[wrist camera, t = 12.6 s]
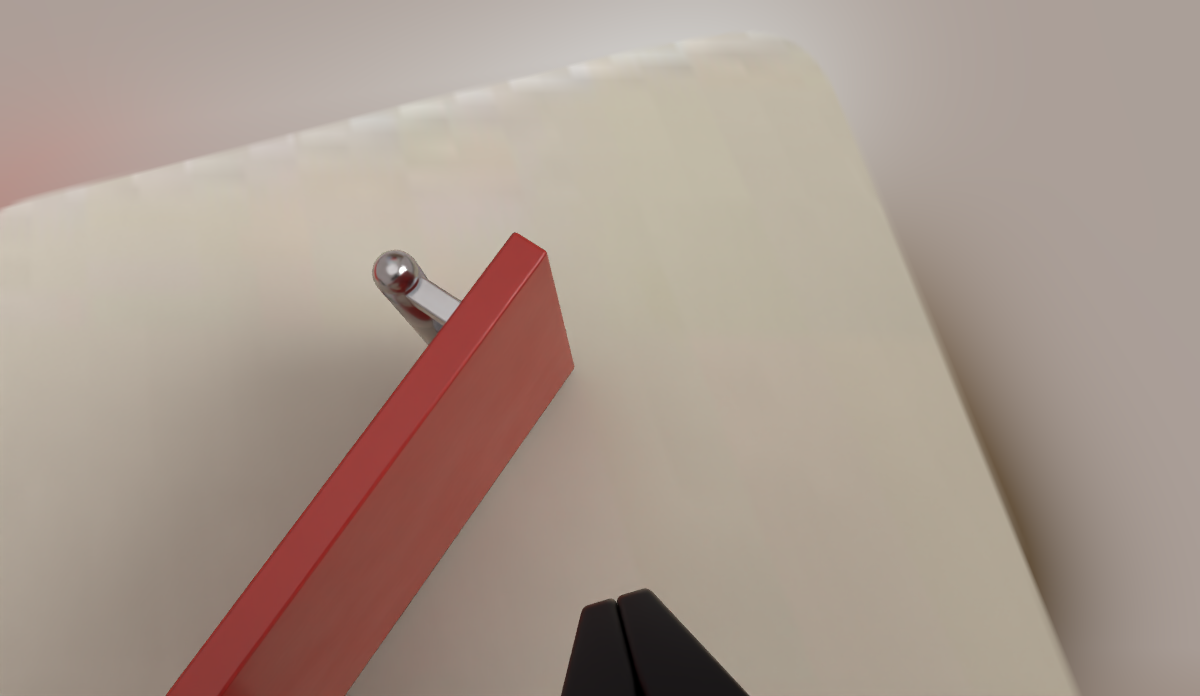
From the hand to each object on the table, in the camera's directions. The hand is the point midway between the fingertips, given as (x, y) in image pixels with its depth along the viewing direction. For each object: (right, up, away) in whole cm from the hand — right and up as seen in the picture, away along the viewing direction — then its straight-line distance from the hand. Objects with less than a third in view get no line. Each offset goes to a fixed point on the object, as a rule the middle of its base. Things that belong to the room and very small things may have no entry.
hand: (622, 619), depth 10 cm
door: (-6, -1, +13) cm, 14 cm away
